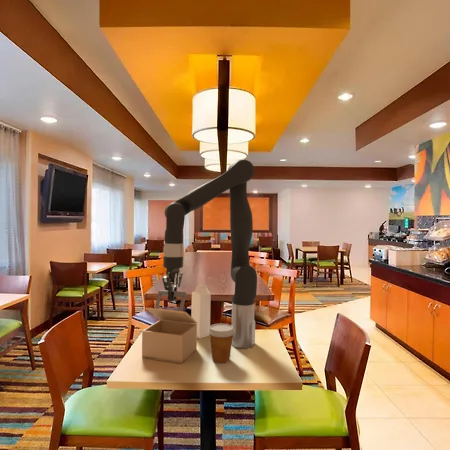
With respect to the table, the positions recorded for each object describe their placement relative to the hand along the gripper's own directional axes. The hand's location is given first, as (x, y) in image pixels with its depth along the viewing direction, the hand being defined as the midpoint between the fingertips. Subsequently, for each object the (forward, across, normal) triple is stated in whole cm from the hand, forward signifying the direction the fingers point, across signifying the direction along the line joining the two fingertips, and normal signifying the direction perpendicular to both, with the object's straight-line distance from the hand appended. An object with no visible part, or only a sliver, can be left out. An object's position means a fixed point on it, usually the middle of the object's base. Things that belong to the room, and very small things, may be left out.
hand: (172, 300), depth 131 cm
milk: (+20, +21, -4) cm, 29 cm away
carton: (+20, -1, 0) cm, 20 cm away
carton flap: (+6, 0, 0) cm, 6 cm away
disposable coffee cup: (+20, 0, -20) cm, 29 cm away
